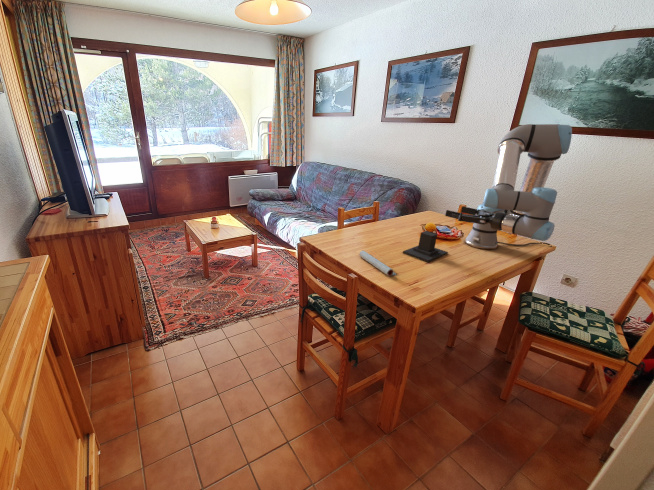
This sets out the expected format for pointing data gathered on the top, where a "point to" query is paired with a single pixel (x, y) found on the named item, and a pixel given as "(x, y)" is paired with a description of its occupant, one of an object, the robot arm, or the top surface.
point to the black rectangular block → (427, 241)
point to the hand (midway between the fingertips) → (454, 211)
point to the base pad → (425, 254)
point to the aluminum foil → (377, 263)
